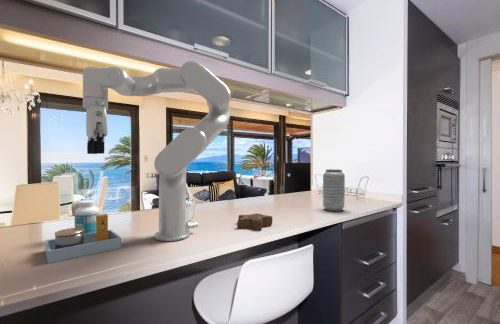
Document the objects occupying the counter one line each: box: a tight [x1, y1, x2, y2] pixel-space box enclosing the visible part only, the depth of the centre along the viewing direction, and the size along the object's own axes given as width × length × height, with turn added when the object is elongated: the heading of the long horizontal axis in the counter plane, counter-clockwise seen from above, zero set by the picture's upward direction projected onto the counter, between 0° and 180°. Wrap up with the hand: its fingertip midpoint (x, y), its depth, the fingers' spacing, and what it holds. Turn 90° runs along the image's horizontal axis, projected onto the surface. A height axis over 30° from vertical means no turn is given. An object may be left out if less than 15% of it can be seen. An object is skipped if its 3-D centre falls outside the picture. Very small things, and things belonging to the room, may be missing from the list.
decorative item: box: [236, 212, 273, 231], centre depth 108 cm, size 16×6×15 cm
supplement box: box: [96, 213, 109, 242], centre depth 81 cm, size 3×3×10 cm
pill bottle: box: [74, 199, 100, 234], centre depth 89 cm, size 8×7×14 cm
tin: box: [54, 227, 84, 249], centre depth 75 cm, size 7×7×6 cm
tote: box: [44, 229, 122, 264], centre depth 78 cm, size 18×12×4 cm, turn 132°
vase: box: [322, 168, 346, 212], centre depth 143 cm, size 12×12×23 cm
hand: (95, 153), depth 88 cm, fingers open, 9 cm apart
